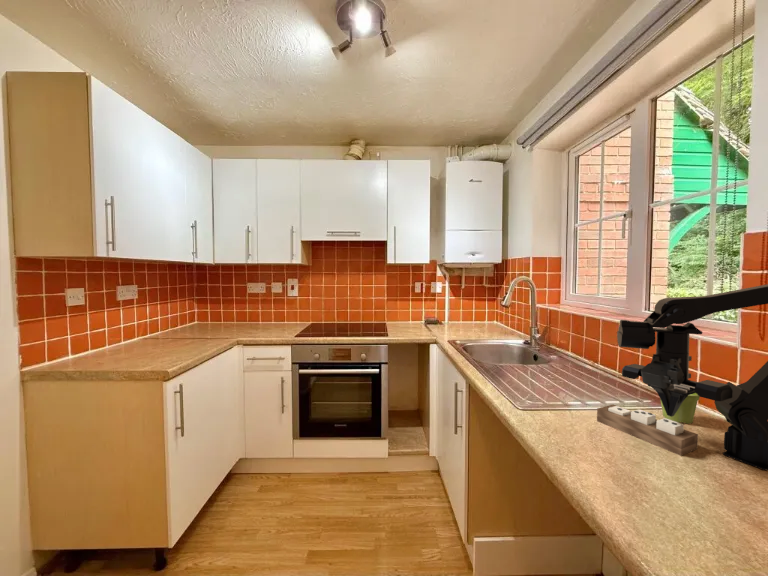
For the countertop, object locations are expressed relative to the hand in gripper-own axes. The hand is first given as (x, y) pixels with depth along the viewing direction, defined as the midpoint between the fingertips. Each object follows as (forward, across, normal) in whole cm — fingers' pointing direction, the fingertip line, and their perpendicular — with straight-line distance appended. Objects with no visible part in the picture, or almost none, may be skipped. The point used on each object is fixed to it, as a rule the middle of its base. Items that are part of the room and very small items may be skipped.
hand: (670, 415), depth 74 cm
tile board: (+7, -6, 0) cm, 9 cm away
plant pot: (+7, -7, +18) cm, 21 cm away
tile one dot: (+5, -11, 0) cm, 12 cm away
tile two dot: (+4, 0, 0) cm, 4 cm away
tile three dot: (+4, -6, 0) cm, 7 cm away
